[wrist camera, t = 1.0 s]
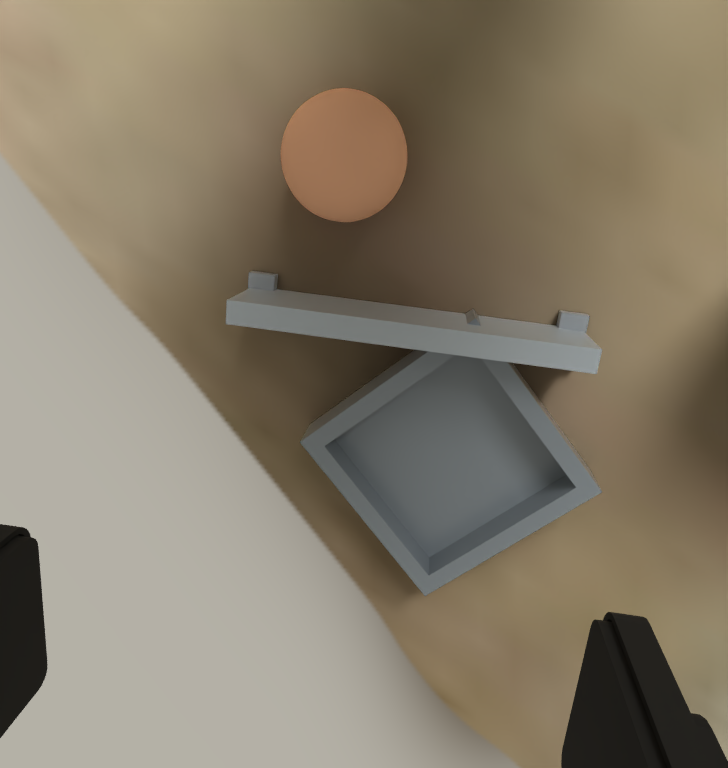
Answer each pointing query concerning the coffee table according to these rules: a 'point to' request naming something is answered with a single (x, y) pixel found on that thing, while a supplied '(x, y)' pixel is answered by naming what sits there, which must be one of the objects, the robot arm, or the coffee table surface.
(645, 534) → the coffee table surface
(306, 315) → the fence
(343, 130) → the ball
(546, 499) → the dish
